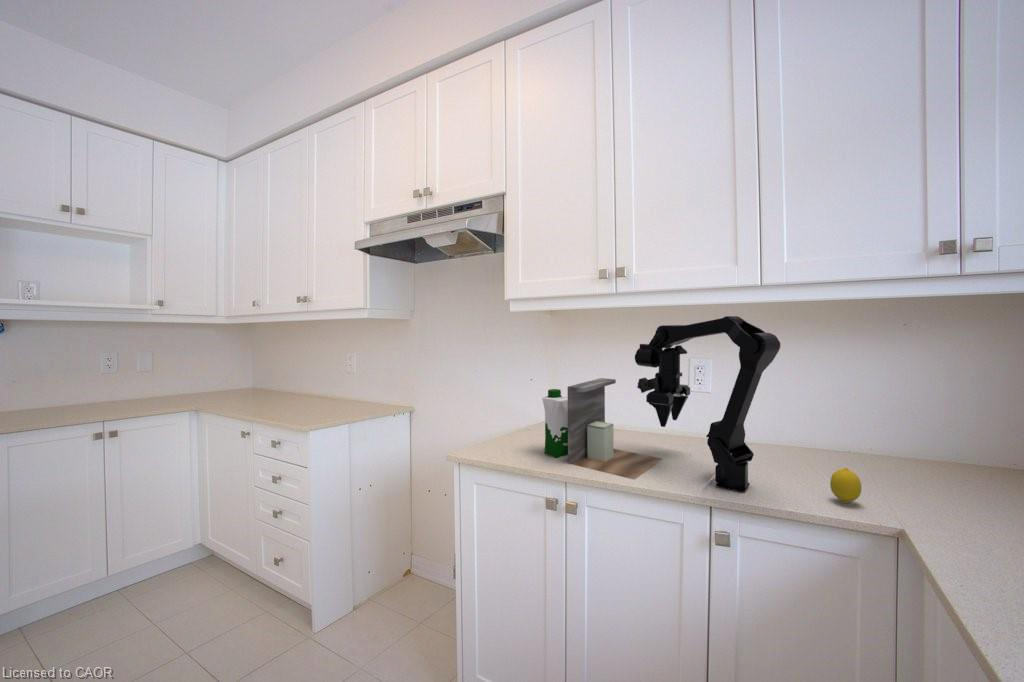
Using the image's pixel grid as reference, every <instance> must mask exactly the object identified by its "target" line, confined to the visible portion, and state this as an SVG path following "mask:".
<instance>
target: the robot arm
mask: <svg viewBox="0 0 1024 682" xmlns="http://www.w3.org/2000/svg"><path fill="white" fill-rule="evenodd" d="M722 334H726V335H727V336H728V337H729V338H730V340H731V341H732V343H733V344H735V345H736V346H737V347H738V348H739V351H738V359H739V365H740V366H739V371H738V374H737V377H736V380H735V382H734V385H733V388H732V390H731V393H730V397H729V400H728V402H727V405H726V408H725V410H724V412H723V413H724V414H723V417H722V419H721V420H718V421H714V422H711V424H710V425H709V430H708V433H707V435H706V438H707V442H706V443H707V446H708V448H709V450H710V452H711V456H712V459H713V463H715V464H716V465H715V468H714V469H715V472H714V473H715V474H714V475H715V478H714V481H715V482H716V483H715V487H717V488H720V489H721V488H722V489H725V490H730V491H733V492H738V493H743V494H744V493H745V492H747V490H748V488H749V487H750V482H749V462H751V461H752V460H753V458H754V455H755V453H754V452H753V451H752V450H751V448H749V446H748V445H747V444H746V442H745V438H746V430H745V421H746V418H747V415H748V413H749V410H750V408H751V405H752V402H753V401H754V398H755V397H754V396H755V394H756V391H757V389H758V385H759V384H760V380H761V378H762V375H763V373H764V371H765V370H766V369H767V368H768V367H769V366H770V365H771V364H772V362H773V361H774V360H775V358H776V356H777V355H778V353H779V351H780V350H781V342H780V341H779V339H778V338H779V337H777V336H776V335H775V334H773V333H770V332H765V331H764V330H763V329H761V328H760V327H758V326H756V325H754V324H752V323H749V322H747V321H746V320H744V319H743V318H742V317H741V316H739V315H728V316H727V315H726V316H723V317H722V318H717V319H716V318H715V319H712V320H711V319H709V320H706V321H705V320H704V321H702V322H695V323H691V324H669V325H659V326H658V327H657V328H656V330H655V334H654V335H653V337H652V338H651V340H650V342H648V343H640V344H639V348H638V349H637V350H636V351H635V355H634V361H635V364H636V365H637V366H639V367H647V368H658V372H656V373H655V374H654V377H652V378H650V379H648V378H647V377H642V378H639V379H638V382H637V386H636V387H637V389H639V390H640V393H641V394H644V393H646V392H648V391H649V392H648V393H647V394H646V397H645V398H646V403H648V404H649V405H650V406H652V407H653V408H654V409H655V412H656V415H657V417H658V421H659V424H660V427H662V428H665V427H666V425H667V423H668V420H669V419H670V414H671V419H672V421H677V420H678V418H679V417H680V414H681V412H682V410H683V407H684V406H685V404H686V403H687V400H688V399H689V395H691V388H690V386H689V385H687V384H681V383H680V382H681V377H683V372H681V355H684V354H685V355H687V354H688V351H687V349H685V348H684V347H683V345H681V344H685V343H687V342H689V341H690V340H693V339H695V338H702V337H703V338H704V337H707V336H708V337H709V336H714V335H722Z"/></svg>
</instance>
